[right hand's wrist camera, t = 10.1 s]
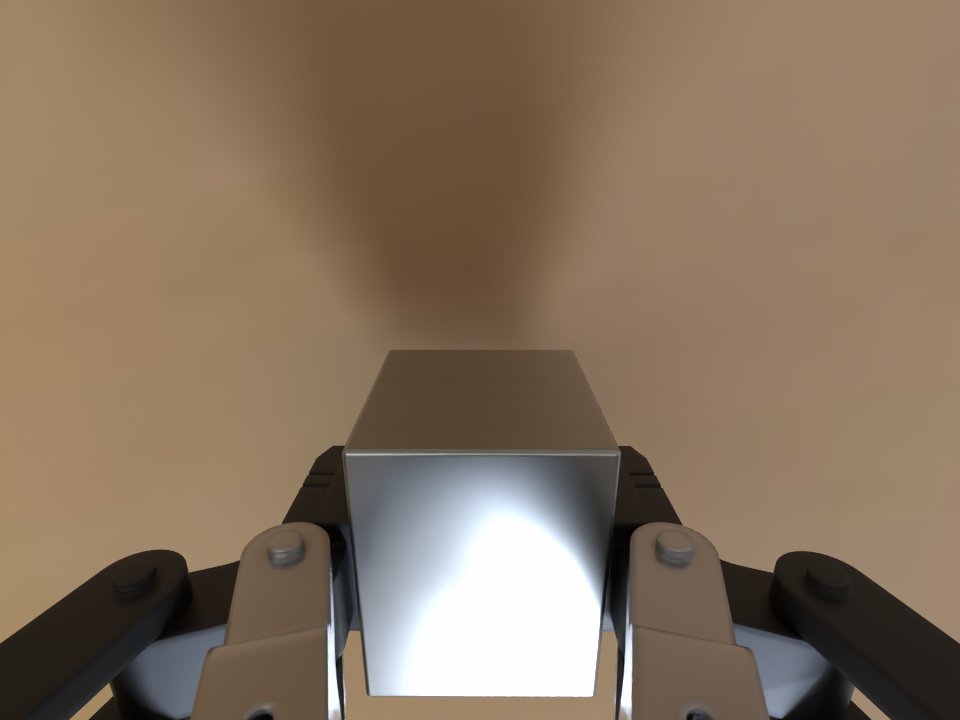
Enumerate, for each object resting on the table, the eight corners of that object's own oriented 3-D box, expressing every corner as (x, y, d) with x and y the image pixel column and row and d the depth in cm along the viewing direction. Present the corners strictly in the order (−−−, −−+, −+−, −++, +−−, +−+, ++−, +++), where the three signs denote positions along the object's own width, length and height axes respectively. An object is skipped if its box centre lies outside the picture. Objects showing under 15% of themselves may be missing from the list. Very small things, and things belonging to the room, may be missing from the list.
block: (574, 348, 12) (623, 450, 8) (561, 535, 13) (596, 699, 9) (388, 348, 12) (340, 450, 8) (399, 535, 13) (365, 699, 9)
